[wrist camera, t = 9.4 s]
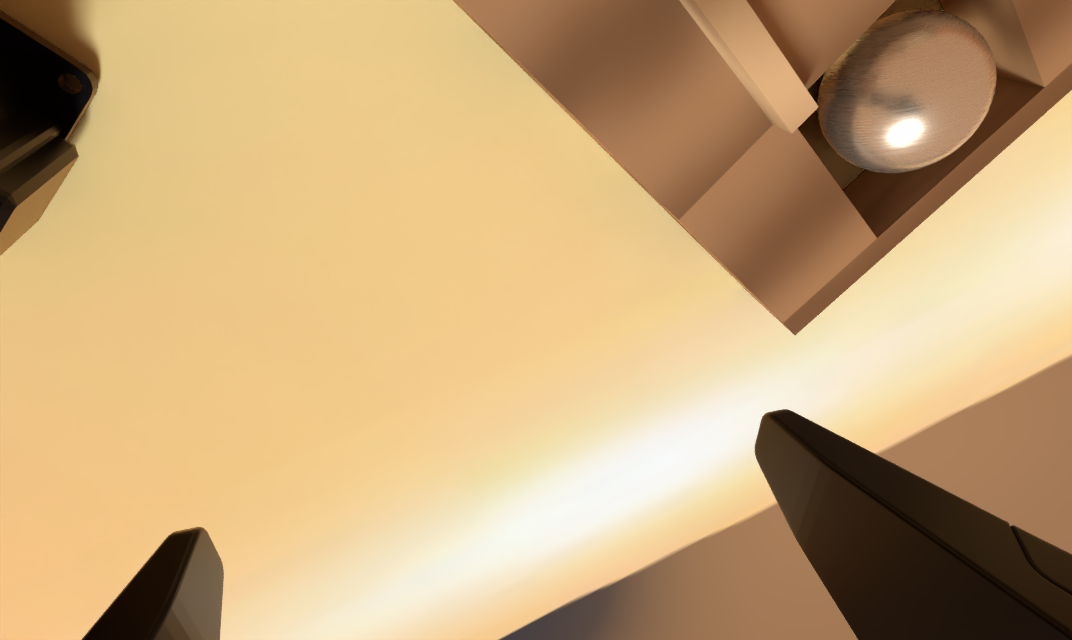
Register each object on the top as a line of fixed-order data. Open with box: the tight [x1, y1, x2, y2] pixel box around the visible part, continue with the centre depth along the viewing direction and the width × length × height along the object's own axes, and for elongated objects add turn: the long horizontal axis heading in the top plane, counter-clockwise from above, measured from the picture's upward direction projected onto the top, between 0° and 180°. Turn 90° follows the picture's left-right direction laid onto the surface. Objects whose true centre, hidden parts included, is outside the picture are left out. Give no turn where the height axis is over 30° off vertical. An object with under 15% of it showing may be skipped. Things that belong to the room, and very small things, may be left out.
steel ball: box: [817, 9, 997, 173], centre depth 20 cm, size 5×5×5 cm
